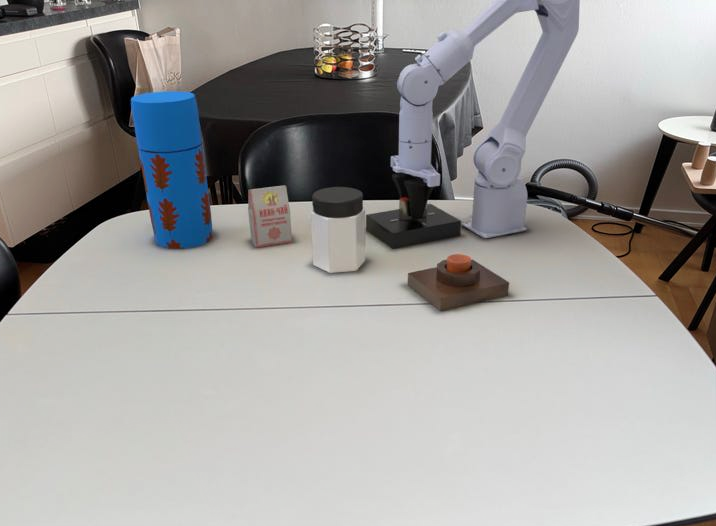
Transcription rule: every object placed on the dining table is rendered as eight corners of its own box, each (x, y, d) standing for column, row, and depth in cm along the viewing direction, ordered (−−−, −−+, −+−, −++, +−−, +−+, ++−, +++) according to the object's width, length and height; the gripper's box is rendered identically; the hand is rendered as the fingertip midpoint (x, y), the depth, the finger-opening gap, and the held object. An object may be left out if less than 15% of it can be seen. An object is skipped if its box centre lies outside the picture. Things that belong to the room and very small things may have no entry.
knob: (422, 214, 128) (423, 193, 126) (426, 216, 127) (427, 196, 125) (398, 218, 126) (399, 197, 124) (402, 220, 125) (403, 200, 123)
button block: (471, 271, 112) (473, 248, 110) (508, 295, 105) (510, 271, 102) (407, 285, 108) (408, 262, 106) (440, 311, 100) (441, 286, 98)
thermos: (200, 250, 122) (179, 103, 109) (144, 247, 124) (117, 102, 111) (222, 229, 131) (205, 91, 118) (170, 226, 133) (148, 90, 120)
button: (461, 262, 107) (462, 252, 106) (474, 271, 104) (475, 260, 103) (442, 267, 105) (442, 256, 104) (454, 275, 102) (455, 264, 102)
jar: (326, 251, 121) (324, 183, 115) (370, 256, 119) (370, 188, 112) (306, 270, 114) (303, 200, 108) (352, 276, 111) (351, 205, 105)
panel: (429, 218, 135) (430, 202, 133) (460, 236, 126) (461, 219, 124) (365, 229, 130) (365, 213, 128) (392, 249, 121) (393, 232, 120)
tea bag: (251, 240, 126) (245, 187, 121) (286, 235, 128) (282, 182, 123) (256, 247, 123) (250, 193, 118) (292, 242, 125) (288, 188, 120)
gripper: (376, 133, 123) (375, 206, 130) (415, 151, 112) (413, 230, 119) (410, 129, 126) (408, 201, 133) (452, 146, 115) (447, 224, 122)
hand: (412, 215), depth 126 cm, fingers closed
